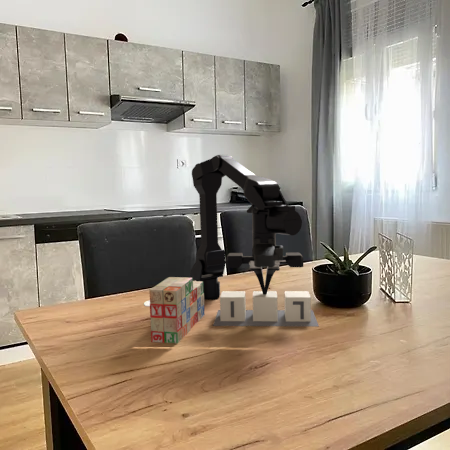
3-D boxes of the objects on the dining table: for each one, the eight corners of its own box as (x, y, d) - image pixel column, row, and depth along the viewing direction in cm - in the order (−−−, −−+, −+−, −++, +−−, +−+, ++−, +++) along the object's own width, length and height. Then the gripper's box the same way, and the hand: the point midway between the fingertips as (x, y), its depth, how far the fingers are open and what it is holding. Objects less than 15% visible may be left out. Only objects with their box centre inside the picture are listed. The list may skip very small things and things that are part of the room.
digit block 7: (285, 321, 109) (285, 297, 109) (284, 314, 115) (284, 291, 115) (310, 321, 109) (310, 297, 108) (308, 314, 115) (308, 291, 114)
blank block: (253, 321, 110) (252, 297, 110) (253, 313, 116) (253, 291, 115) (277, 321, 110) (277, 297, 109) (276, 314, 116) (276, 291, 115)
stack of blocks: (182, 315, 118) (180, 269, 117) (205, 316, 117) (203, 269, 116) (150, 344, 97) (148, 288, 96) (178, 346, 96) (176, 289, 95)
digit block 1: (220, 321, 111) (219, 297, 110) (222, 313, 117) (222, 291, 116) (244, 321, 110) (244, 297, 110) (245, 313, 116) (245, 291, 116)
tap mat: (212, 327, 107) (212, 325, 107) (218, 311, 120) (218, 309, 120) (318, 327, 105) (318, 326, 105) (312, 311, 118) (312, 310, 118)
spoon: (181, 292, 143) (180, 290, 143) (156, 308, 126) (156, 306, 126) (165, 291, 145) (165, 289, 145) (139, 306, 128) (139, 305, 127)
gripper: (223, 236, 103) (225, 302, 105) (305, 235, 102) (305, 302, 104) (227, 231, 115) (228, 291, 116) (301, 230, 113) (301, 291, 115)
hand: (264, 294), depth 112 cm, fingers closed
